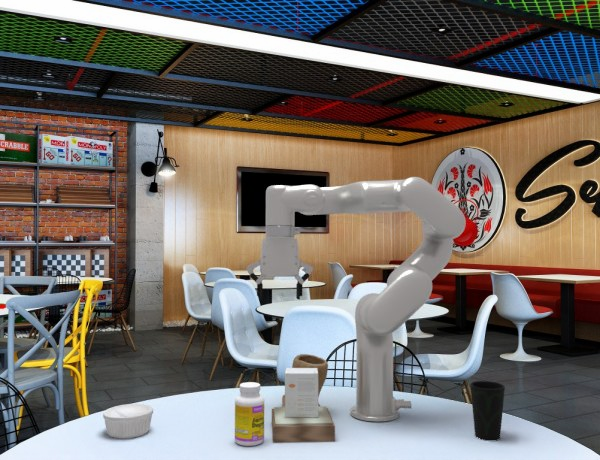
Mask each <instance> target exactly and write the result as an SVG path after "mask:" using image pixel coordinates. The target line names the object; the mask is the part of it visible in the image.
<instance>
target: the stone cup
mask: <svg viewBox="0 0 600 460" xmlns="http://www.w3.org/2000/svg"><path fill="white" fill-rule="evenodd" d="M291 365H292V366H291V368H317V369H318V399H319V397H320V394H321V391H322V389H323V386H324V384H325V382H326V380H327V377H328V368H329V363H328V361H327V359H324V358H322V357H321V356H317V355H313V354H307V353H304V354H303V353H302V354H301V353H300V354H297V355H296V356H295V357H294V358H293V361H292V364H291ZM281 402H282V407H285V394H283V395H282V397H281ZM320 406H321V405H320V403H319V407H320Z"/></svg>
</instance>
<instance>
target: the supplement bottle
mask: <svg viewBox="0 0 600 460" xmlns="http://www.w3.org/2000/svg"><path fill="white" fill-rule="evenodd" d="M260 391H261V384H260V383H259V382H253V381H252V382H251V381H248V382H242V383H240V384H239V393H240V394H239V395H237V396H236V397H235V400H234V442H235V443H236V444H237V445H240V446H242V447H243V446H244V447H254V446H258V445H260V444H262V443H263V442H264V440H265V398H264V396H263V395H261V394H260Z"/></svg>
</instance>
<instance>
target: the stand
mask: <svg viewBox="0 0 600 460" xmlns="http://www.w3.org/2000/svg"><path fill="white" fill-rule="evenodd" d="M271 430H272V431H271V434H272V443H306V442H307V443H308V442H309V443H314V442H315V443H317V442H335V441H336V425H335V422H334V420H333V418H332V416H331V412H330V410H329V408H328V407H327V406H326V405H325V406H323V405H322V406H321V405H320V407H319V408H318V417H285V407H283V406H275V407H273V408H271Z"/></svg>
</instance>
